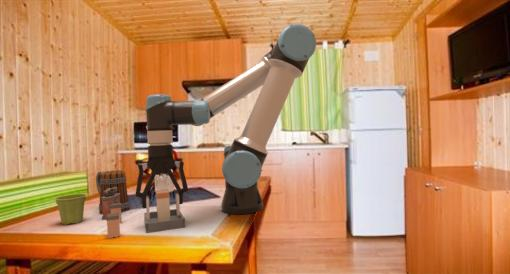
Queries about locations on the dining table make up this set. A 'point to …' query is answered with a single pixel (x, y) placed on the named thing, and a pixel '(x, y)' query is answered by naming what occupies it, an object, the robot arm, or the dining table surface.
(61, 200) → the plant pot
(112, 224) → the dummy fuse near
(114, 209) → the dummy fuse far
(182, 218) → the tray
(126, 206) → the mug
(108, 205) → the lighter
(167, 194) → the block
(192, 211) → the dining table surface
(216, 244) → the dining table surface
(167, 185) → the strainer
